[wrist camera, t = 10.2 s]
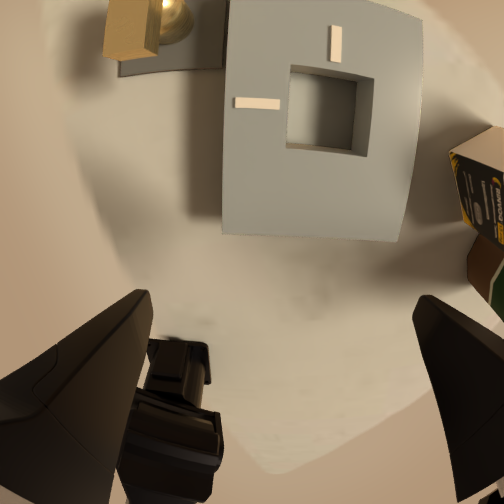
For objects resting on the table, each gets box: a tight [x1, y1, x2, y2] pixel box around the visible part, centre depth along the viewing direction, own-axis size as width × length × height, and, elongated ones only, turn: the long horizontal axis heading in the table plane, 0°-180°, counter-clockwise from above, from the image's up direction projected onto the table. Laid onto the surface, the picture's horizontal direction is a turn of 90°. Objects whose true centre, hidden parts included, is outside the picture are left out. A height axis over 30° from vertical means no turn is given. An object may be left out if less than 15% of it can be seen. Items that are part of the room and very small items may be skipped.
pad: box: [120, 0, 227, 77], centre depth 14 cm, size 7×7×1 cm
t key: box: [102, 0, 195, 61], centre depth 10 cm, size 3×7×7 cm, turn 177°
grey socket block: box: [222, 0, 423, 242], centre depth 15 cm, size 16×12×3 cm
